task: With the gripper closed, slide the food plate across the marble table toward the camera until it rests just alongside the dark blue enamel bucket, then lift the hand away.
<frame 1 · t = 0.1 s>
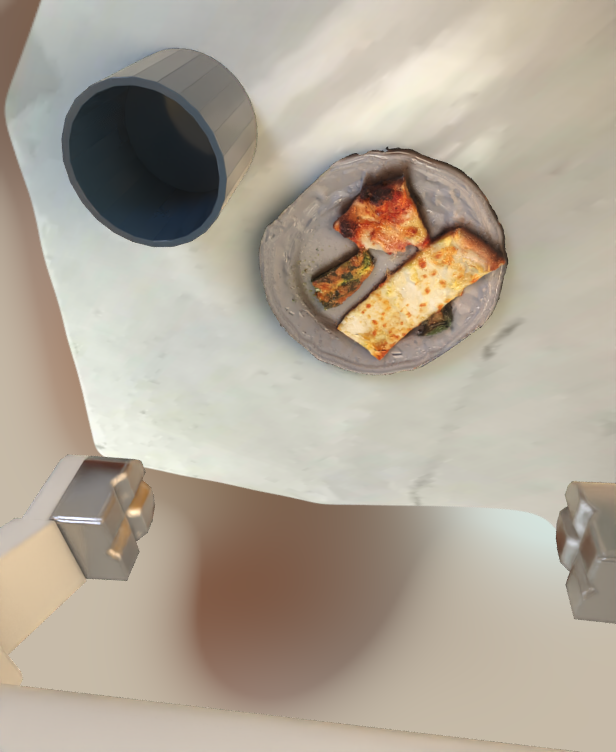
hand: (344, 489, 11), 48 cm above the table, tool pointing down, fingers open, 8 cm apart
food plate: (381, 265, 61), on the table
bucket: (189, 127, 54), on the table
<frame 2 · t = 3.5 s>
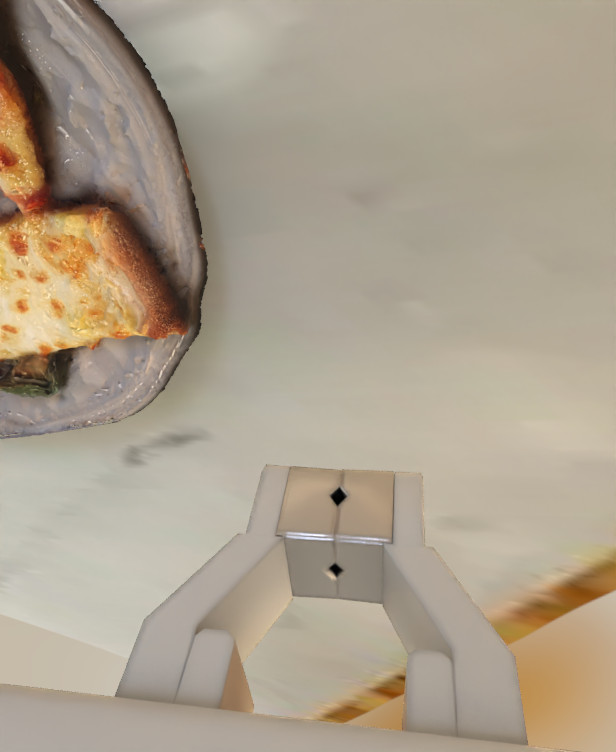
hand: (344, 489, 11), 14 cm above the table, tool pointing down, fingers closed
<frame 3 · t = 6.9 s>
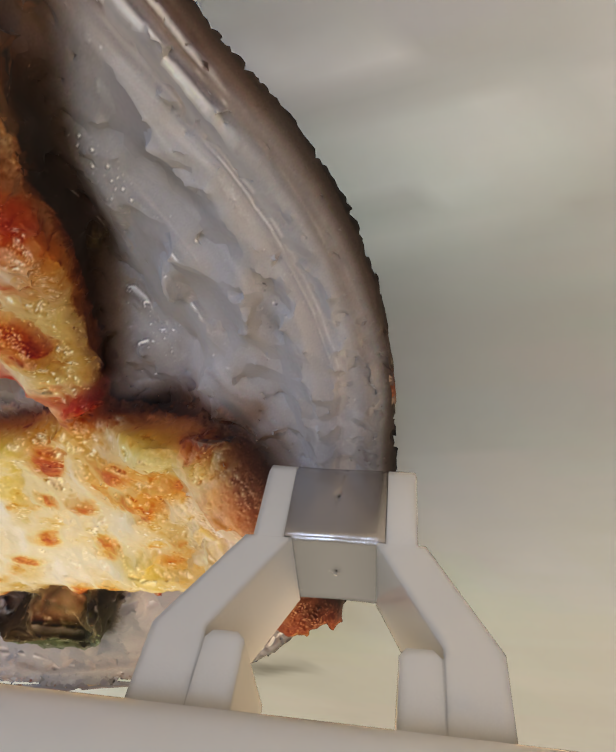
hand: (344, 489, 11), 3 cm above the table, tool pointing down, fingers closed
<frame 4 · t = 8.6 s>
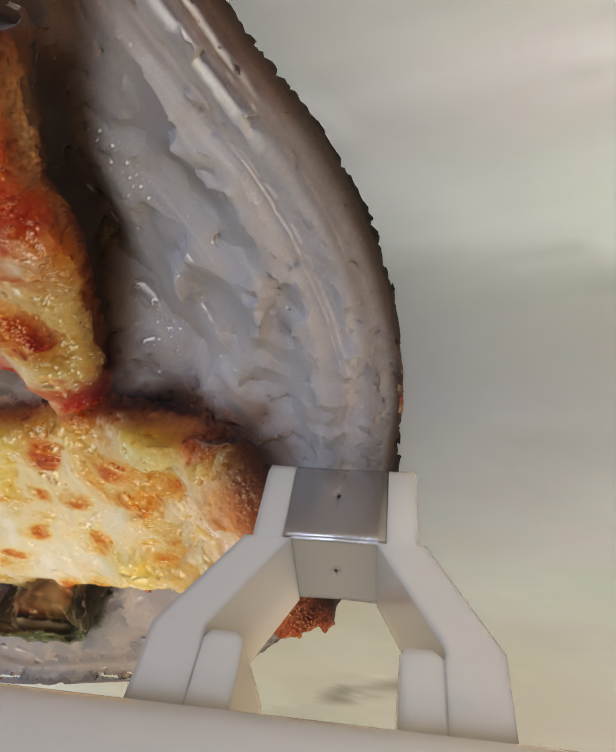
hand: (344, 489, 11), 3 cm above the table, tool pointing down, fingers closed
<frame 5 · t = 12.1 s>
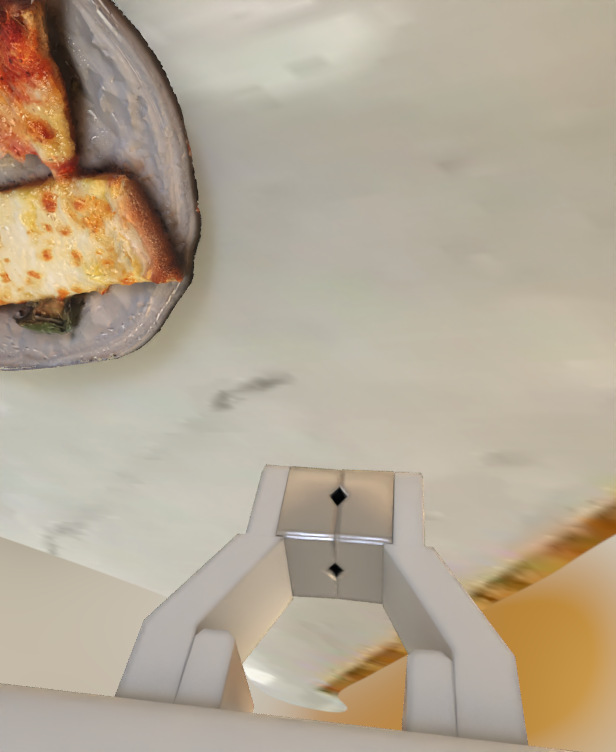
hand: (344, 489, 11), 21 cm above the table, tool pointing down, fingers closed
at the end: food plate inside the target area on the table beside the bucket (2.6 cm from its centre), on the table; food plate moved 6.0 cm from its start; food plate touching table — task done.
